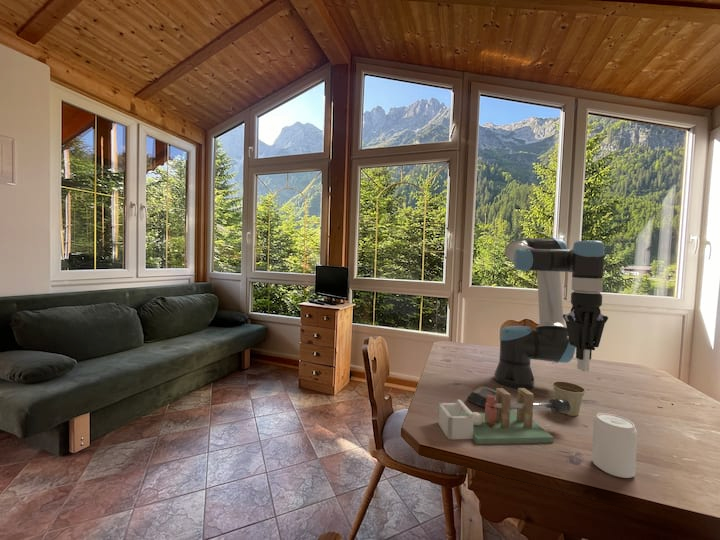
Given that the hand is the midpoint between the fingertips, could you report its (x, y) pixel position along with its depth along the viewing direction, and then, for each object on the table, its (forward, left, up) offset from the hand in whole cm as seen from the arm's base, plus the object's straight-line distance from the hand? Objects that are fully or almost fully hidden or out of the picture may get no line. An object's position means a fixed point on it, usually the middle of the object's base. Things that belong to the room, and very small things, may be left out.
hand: (582, 369), depth 92 cm
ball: (+33, 0, -15) cm, 36 cm away
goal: (+39, 0, -18) cm, 43 cm away
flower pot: (-4, -10, -18) cm, 21 cm away
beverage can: (+7, +18, -18) cm, 26 cm away
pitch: (+25, 0, -18) cm, 31 cm away
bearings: (+21, 0, -16) cm, 27 cm away
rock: (+21, -16, -18) cm, 32 cm away
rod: (+17, 0, -16) cm, 23 cm away
